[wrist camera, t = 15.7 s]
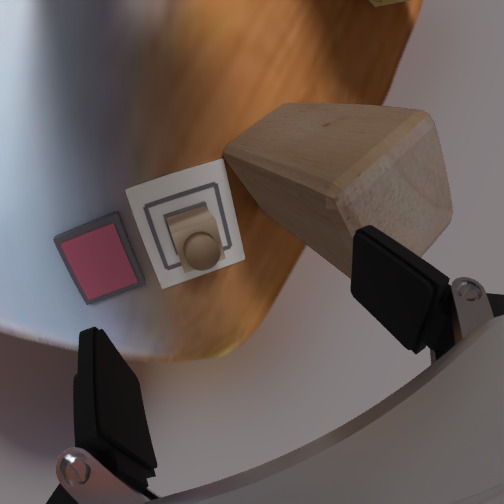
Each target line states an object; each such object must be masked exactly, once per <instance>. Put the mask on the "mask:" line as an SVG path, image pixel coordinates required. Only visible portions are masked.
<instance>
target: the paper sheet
mask: <svg viewBox="0 0 504 504" xmlns="http://www.w3.org/2000/svg"><path fill="white" fill-rule="evenodd" d="M125 191H126V195H127V198H128V200H129V203H130V206H131V209H132V212H133V215H134V218H135V221H136V223H137V226H138V229H139V232H140V234H141V237H142V240H143V242H144V245H145V248H146V250H147V253H148V256H149V258H150V261H151V263H152V266H153V268H154V271H155V273H156V276H157V278H158V280H159V283H160V285H161V288H162V289H165V288H167V287H170V286H173V285H176V284H179V283H181V282H184V281H187V280H190V279H193V278H195V277H198V276H201V275H204V274H207V273H209V272H212V271H215V270H218V269H220V268H223V267H226V266H229V265H232V264H234V263H237V262H240V261H243V260H245V255H244V250H243V246H242V241H241V237H240V232H239V227H238V223H237V218H236V214H235V209H234V205H233V200H232V195H231V191H230V186H229V182H228V177H227V172H226V168H225V163H224V159H223V158H222V159H218V160H215V161H211V162H208V163H204V164H201V165H197V166H194V167H191V168H187V169H184V170H181V171H178V172H174V173H171V174H168V175H165V176H162V177H159V178H156V179H153V180H150V181H147V182H144V183H141V184H138V185H136V186H133V187H130V188H127V189H125ZM204 201H205V202H206V204H207V208H208V210H209V211H210V213H211V214H212V215H213V217H214V218H215V219H216V222H217V226H218V230H219V234H220V238H221V242H222V246H223V250H224V254H225V257H226V259H223V260H220V261H218V262H217V264H216V265H215V266H214V267H212V268H210V269H208V270H204V271H199V270H192V271H190V272H187V273H184V270H183V267H182V264H181V261H180V259H179V256H178V255H176V252H175V249H174V246H173V243H172V240H171V237H170V234H169V231H168V228H167V225H166V222H165V219H164V216H163V215H164V214H167V213H170V212H173V211H176V210H179V209H182V208H185V207H188V206H191V205H194V204H197V203H200V202H204Z"/></svg>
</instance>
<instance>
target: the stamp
mask: <svg viewBox="0 0 504 504" xmlns="http://www.w3.org/2000/svg"><path fill="white" fill-rule="evenodd" d="M163 216H164V219H165V222H166V225H167V228H168V231H169V234H170V237H171V240H172V243H173V246H174V249H175V252H176V255H178V256H179V259H180V261H181V264H182V267H183V270H184V273H187V272H190V271H192V270H199V271H204V270H208V269H210V268H212V267H214V266H215V265H216V264H217V262H218V261H220V260H223V259H226V257H225V254H224V250H223V246H222V242H221V238H220V234H219V230H218V226H217V222H216V219H215V218H214V217H213V215H212V214H211V213H210V211H209V210H208V208H207V204H206V202H205V201H204V202H200V203H197V204H194V205H191V206H188V207H185V208H182V209H179V210H176V211H173V212H170V213H167V214H164V215H163Z"/></svg>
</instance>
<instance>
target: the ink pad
mask: <svg viewBox="0 0 504 504" xmlns="http://www.w3.org/2000/svg"><path fill="white" fill-rule="evenodd" d="M54 242H55V244H56V247H57V249H58V251H59V253H60V255H61V257H62V259H63V261H64V263H65V265H66V267H67V269H68V271H69V273H70V275H71V277H72V279H73V281H74V283H75V285H76V287H77V288H78V290H79V292H80V294H81V296H82V297H83V299H84V301H85V303H86V304H87V305H88V304H91V303H93V302H96V301H99V300H102V299H105V298H107V297H110V296H113V295H116V294H118V293H121V292H124V291H127V290H130V289H132V288H135V287H138V286H141V285H143V284H146V283H145V278H144V276H143V273H142V271H141V269H140V266H139V264H138V262H137V259H136V257H135V254H134V252H133V249H132V247H131V244H130V242H129V239H128V237H127V234H126V231H125V229H124V226H123V223H122V221H121V218H120V215H119V213H118V211H117V212H114V213H112V214H109V215H106V216H104V217H101V218H99V219H96V220H93V221H91V222H88V223H86V224H83V225H81V226H79V227H76V228H74V229H71V230H69V231H66V232H64V233H62V234H59V235H57V236H55V238H54Z"/></svg>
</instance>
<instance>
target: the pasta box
mask: <svg viewBox="0 0 504 504" xmlns="http://www.w3.org/2000/svg"><path fill="white" fill-rule="evenodd" d="M368 1H369V2H370V3H371V4H372V5H373V6H374V7H379V6H384V5H389V4H394V3H399V2H404V1H410V0H368Z"/></svg>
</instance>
